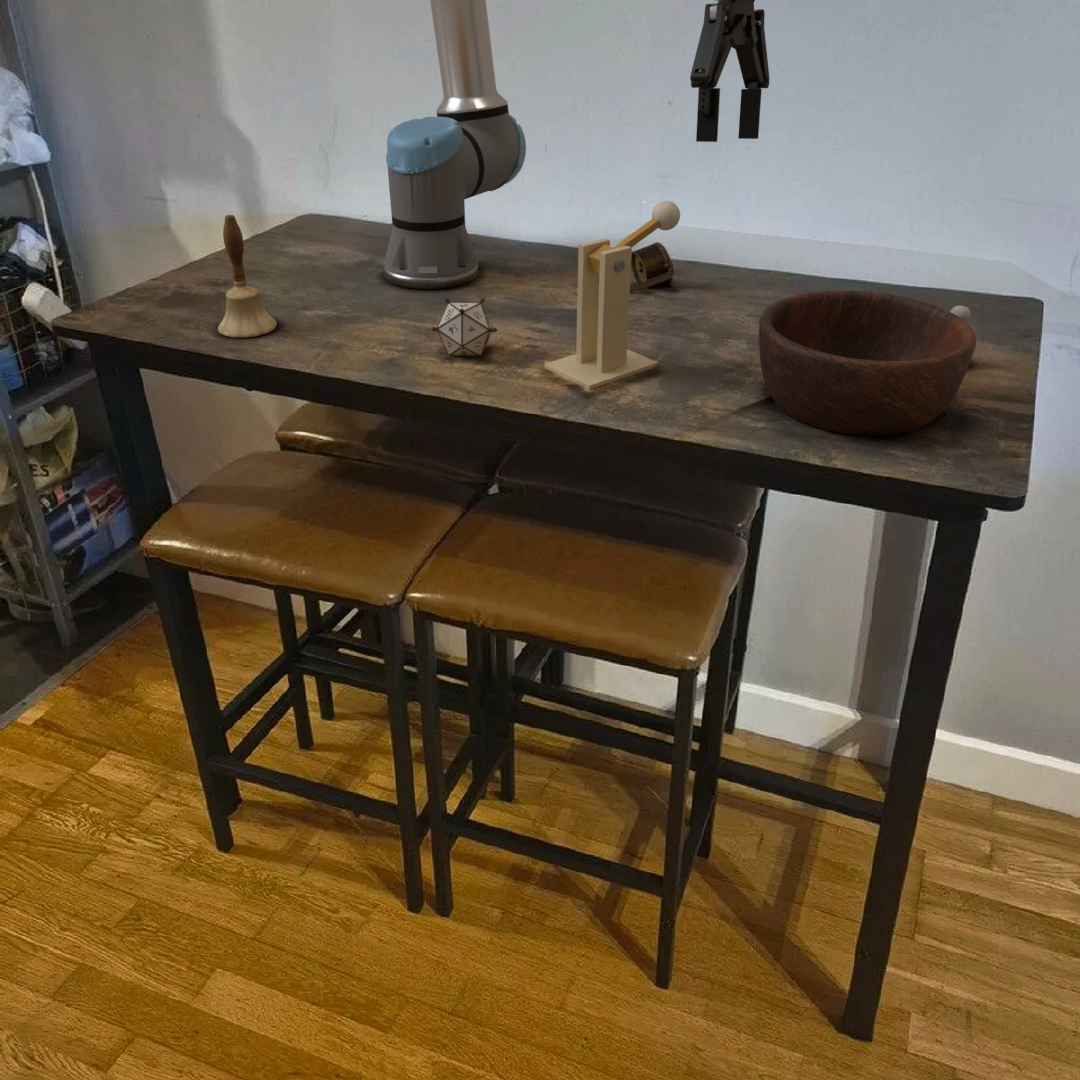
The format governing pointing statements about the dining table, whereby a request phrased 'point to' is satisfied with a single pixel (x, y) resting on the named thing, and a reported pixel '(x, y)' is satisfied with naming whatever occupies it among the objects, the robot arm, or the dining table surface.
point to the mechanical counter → (651, 267)
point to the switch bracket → (602, 321)
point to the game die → (464, 328)
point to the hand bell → (241, 293)
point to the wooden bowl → (863, 360)
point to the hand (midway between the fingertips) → (728, 140)
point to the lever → (643, 230)
